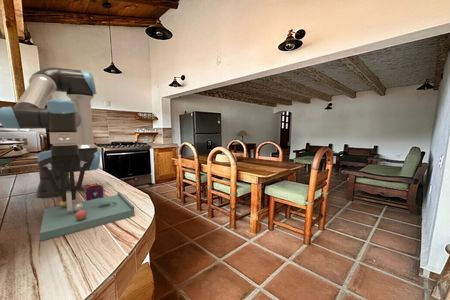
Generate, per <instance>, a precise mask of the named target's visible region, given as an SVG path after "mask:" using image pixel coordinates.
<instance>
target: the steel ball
mask: <svg viewBox="0 0 450 300" xmlns="http://www.w3.org/2000/svg"><path fill="white" fill-rule="evenodd" d="M76 203H77V204H75V205H74V206H73V211H74V212H78V211H79V210H82V209H83V205H82V204H81V203H78V202H76Z"/></svg>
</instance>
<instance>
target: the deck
mask: <svg viewBox="0 0 450 300" xmlns="http://www.w3.org/2000/svg"><path fill="white" fill-rule="evenodd" d="M77 203H81V204H82V205H83V209H82V210H85V211H86V212H87V216H86V217H85V218H84V219H82V220H78V219H76V218H75V214H76V213H77V212H74V211H73V210H70V211H67V207H66V208H62V207H60V205H59V206H54V207H48V208H44V209H43V210H44V212H43V216H42V220H41V224H40V225H41V227H40V231H39V237H40V242H43V241H47V240H50V239H54V238H59V237H61V236H65V235H68V234H73V233H77V232H81V231H84V230H87V229H91V228H95V227H98V226H102V225H105V224H110V223H113V222H116V221H121V220H124V219H128V218H132V217H135V206H134V204H132V202H130V201H129V200H128V198H126V196H124V195H123V194H122V193H121V192H120V191H118V192H117V194H115V195H110V196H104V198H98V199H93V200H88V201H86V200H84V201H78V202H72V207H73V206H74V205H75V204H77Z"/></svg>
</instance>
